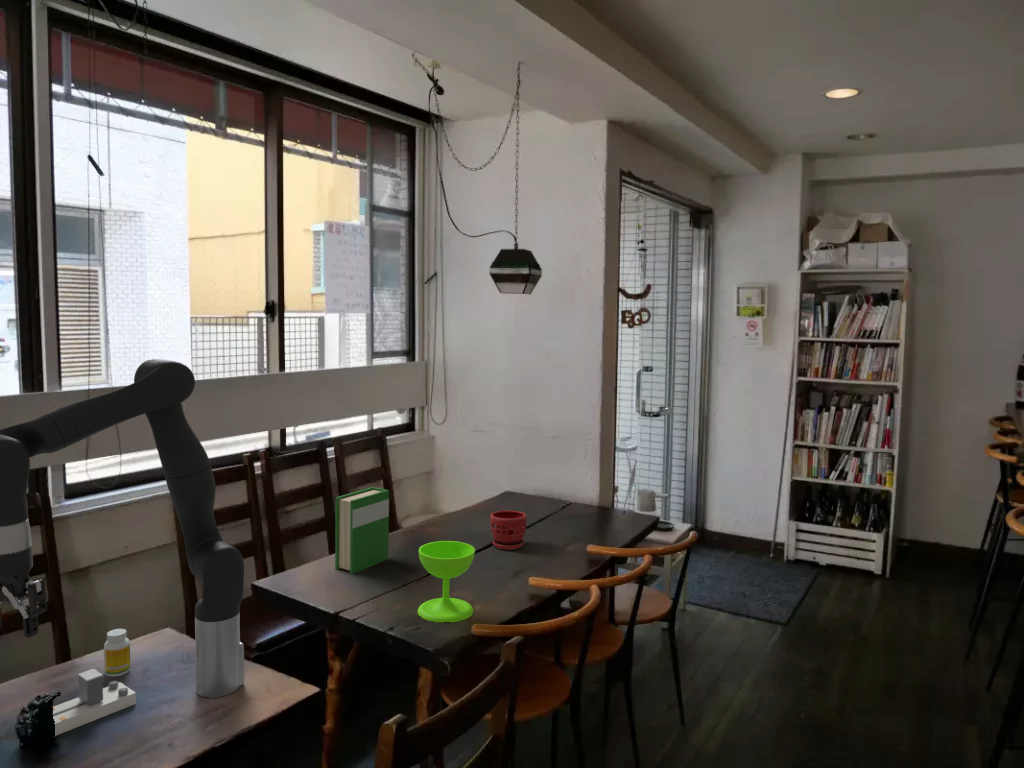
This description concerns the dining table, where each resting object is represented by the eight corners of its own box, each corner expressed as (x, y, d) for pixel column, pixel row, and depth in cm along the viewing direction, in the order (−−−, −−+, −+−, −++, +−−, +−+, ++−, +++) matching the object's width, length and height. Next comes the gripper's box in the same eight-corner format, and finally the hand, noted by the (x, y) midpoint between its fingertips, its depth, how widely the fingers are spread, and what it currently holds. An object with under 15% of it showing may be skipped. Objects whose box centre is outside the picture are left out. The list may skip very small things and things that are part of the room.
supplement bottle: (101, 671, 174) (99, 631, 173) (125, 664, 178) (124, 625, 177) (109, 679, 170) (108, 639, 169) (134, 672, 174) (133, 632, 173)
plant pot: (532, 544, 276) (533, 513, 274) (513, 554, 265) (514, 521, 263) (502, 538, 283) (503, 507, 281) (482, 547, 271) (483, 514, 270)
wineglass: (484, 608, 217) (485, 547, 215) (452, 627, 203) (453, 563, 201) (439, 596, 225) (440, 537, 223) (405, 614, 211) (406, 551, 209)
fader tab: (94, 693, 159) (93, 668, 158) (103, 700, 156) (102, 674, 156) (79, 699, 156) (78, 673, 156) (87, 705, 154) (87, 680, 153)
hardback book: (352, 574, 241) (352, 501, 238) (335, 569, 245) (335, 497, 242) (388, 559, 256) (389, 490, 253) (371, 554, 260) (372, 487, 257)
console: (120, 692, 165) (119, 677, 164) (135, 703, 160) (135, 688, 160) (39, 723, 152) (39, 707, 152) (54, 736, 148) (53, 719, 148)
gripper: (56, 543, 135) (61, 629, 137) (-4, 535, 139) (2, 618, 141) (17, 557, 128) (24, 647, 130) (-44, 548, 132) (-37, 635, 134)
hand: (12, 632), depth 136 cm, fingers open, 8 cm apart
